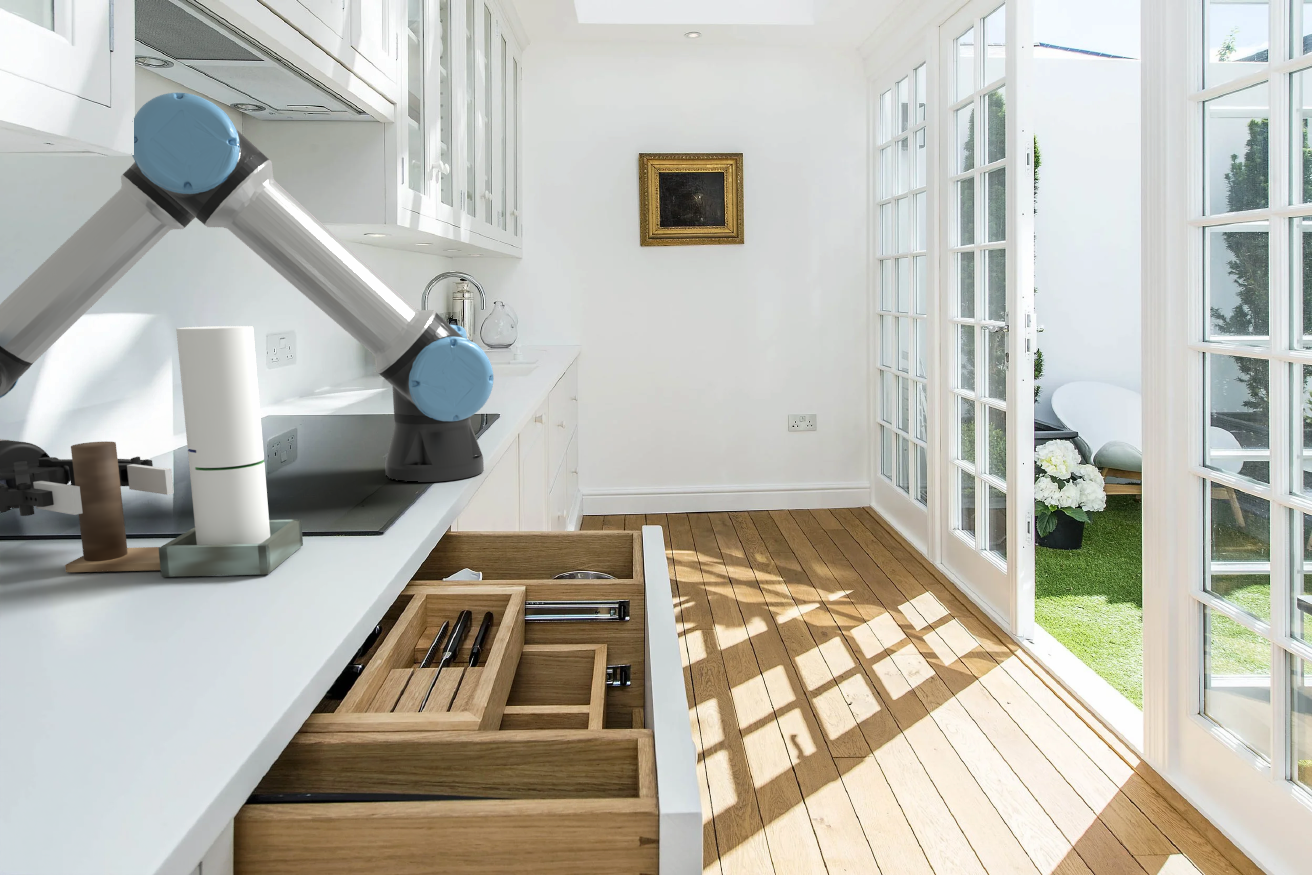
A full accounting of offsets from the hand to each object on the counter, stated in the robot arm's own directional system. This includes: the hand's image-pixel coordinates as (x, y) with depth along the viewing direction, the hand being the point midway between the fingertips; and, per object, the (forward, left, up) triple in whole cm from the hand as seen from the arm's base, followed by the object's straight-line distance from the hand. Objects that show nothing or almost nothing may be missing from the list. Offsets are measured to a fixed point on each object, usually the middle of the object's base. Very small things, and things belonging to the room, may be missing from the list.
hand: (125, 490), depth 93 cm
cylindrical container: (-9, +4, -9) cm, 13 cm away
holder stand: (-5, +1, -8) cm, 10 cm away
